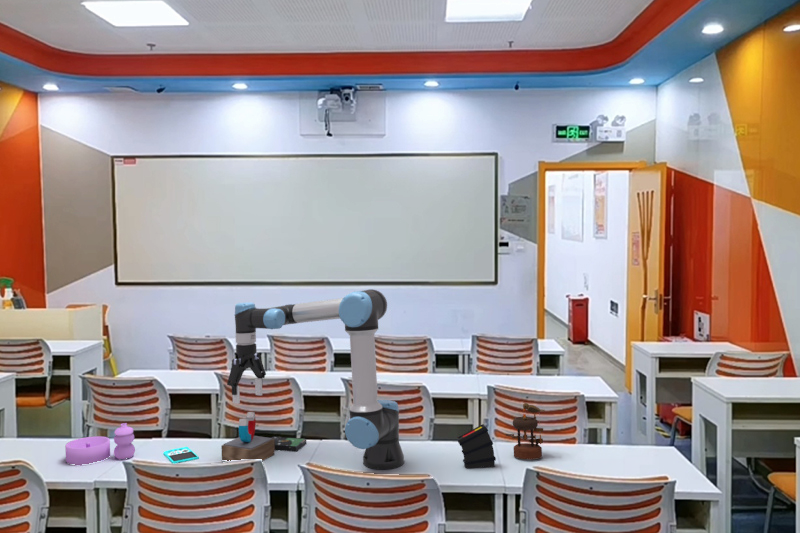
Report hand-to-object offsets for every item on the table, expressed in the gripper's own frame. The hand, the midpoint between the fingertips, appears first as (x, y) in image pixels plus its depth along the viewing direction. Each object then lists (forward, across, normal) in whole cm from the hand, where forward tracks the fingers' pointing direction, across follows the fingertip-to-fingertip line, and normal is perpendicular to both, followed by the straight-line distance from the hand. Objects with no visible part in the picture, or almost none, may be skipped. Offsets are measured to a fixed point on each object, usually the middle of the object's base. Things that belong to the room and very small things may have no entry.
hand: (247, 399), depth 240 cm
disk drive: (+24, +17, -4) cm, 29 cm away
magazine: (+24, +24, -82) cm, 89 cm away
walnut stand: (+23, 0, 0) cm, 23 cm away
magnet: (+16, 0, 0) cm, 16 cm away
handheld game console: (+23, -8, +27) cm, 36 cm away
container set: (+22, -22, +54) cm, 62 cm away
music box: (+24, +41, -96) cm, 107 cm away
